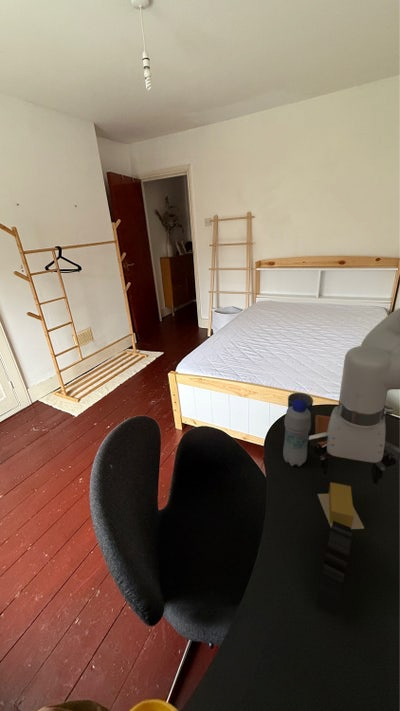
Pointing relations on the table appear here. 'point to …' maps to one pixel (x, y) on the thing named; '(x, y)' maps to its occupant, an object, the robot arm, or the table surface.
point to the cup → (303, 397)
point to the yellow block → (340, 504)
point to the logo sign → (334, 569)
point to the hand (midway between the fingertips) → (348, 473)
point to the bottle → (296, 433)
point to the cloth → (325, 504)
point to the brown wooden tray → (321, 426)
